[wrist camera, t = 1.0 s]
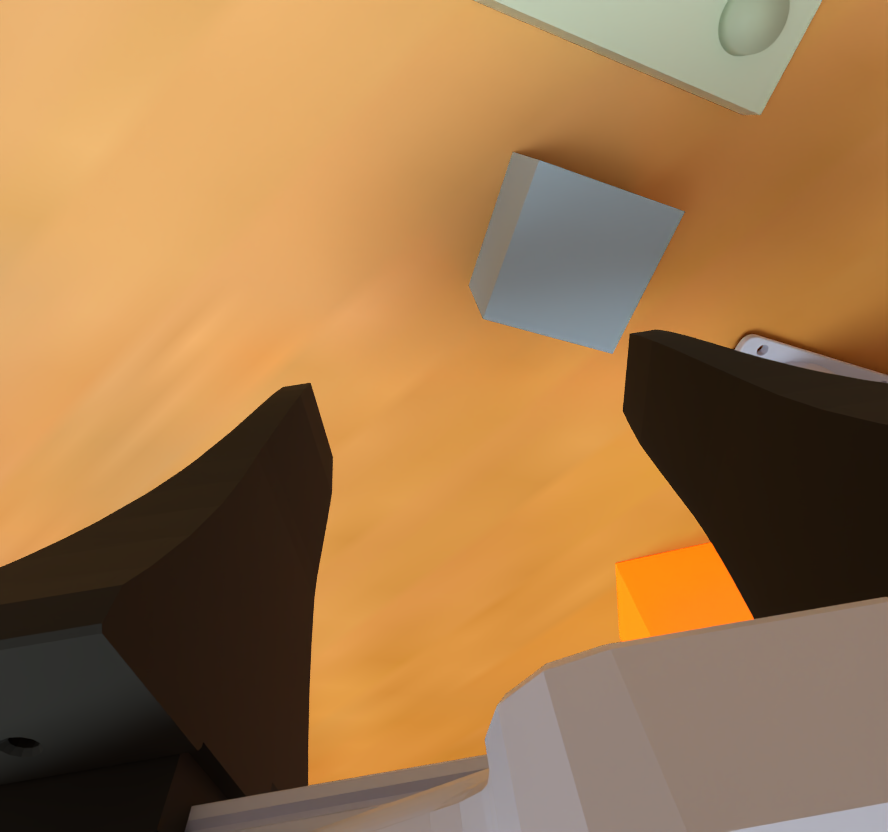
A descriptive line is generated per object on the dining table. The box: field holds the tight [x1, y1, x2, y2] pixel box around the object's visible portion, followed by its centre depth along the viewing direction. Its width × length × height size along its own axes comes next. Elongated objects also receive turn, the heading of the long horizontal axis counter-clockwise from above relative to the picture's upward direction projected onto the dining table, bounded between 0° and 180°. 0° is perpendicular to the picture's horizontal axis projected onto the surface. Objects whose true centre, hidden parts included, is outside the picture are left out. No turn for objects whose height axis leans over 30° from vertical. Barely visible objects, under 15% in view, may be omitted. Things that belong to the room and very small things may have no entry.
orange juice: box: [615, 543, 754, 642], centre depth 23 cm, size 8×9×20 cm
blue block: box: [469, 152, 685, 354], centre depth 18 cm, size 5×5×4 cm
